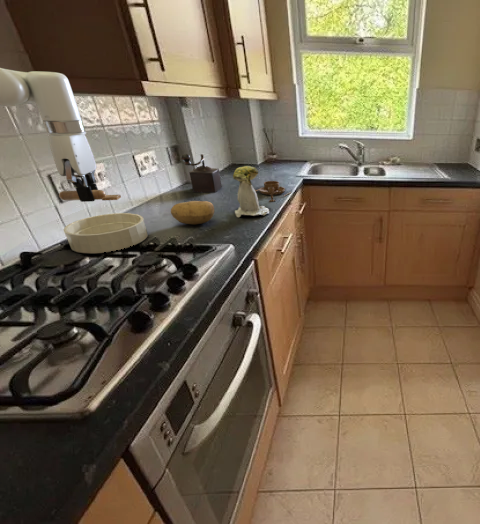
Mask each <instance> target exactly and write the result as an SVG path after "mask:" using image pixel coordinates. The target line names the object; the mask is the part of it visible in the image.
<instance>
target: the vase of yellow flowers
mask: <svg viewBox="0 0 480 524" xmlns="http://www.w3.org/2000/svg"><path fill="white" fill-rule="evenodd" d="M258 175H259V170H258V169H257V167H254V166H250V165H244V166H240V167H237V168H236V169H235V170H234V172H233V175H232V178H233V179H234V180H235V181H237V182H239V186H238V190H237V202H238V203H239V207H238V209H237V210H234V215H235V216H236V218H240V217H242V216H253V217H257V216H260V215H261V216H265V215H267V214H270V209H269V208H267V207H265V205H260V201H259V198H258V193H257V191H255V190H256V189H255V188H254V186H253V184H252V181H253V180H254V179H256V177H257V176H258Z"/></svg>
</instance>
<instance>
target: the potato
mask: <svg viewBox="0 0 480 524" xmlns="http://www.w3.org/2000/svg"><path fill="white" fill-rule="evenodd" d="M214 214H215V206H214V204H213V203H212V202H210V201H207V200H206V201H205V200H202V201H201V200H199V201H198V200H190V201H186V202H178V203H176V204H174V205H173V206H172V207H171V209H170V215H171V216H172V218H174V219H175V220H177V221H178V222H179V223H181V224H186V225H195V226H196V225H202V224H206V223H207V222H209V221H210V220H212V218H213V217H214V216H215V215H214Z"/></svg>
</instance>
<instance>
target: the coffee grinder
mask: <svg viewBox="0 0 480 524" xmlns="http://www.w3.org/2000/svg"><path fill="white" fill-rule="evenodd" d="M180 160H181V161H182V162H183V164H184V166H187V167H188V166H192V167H195V168H193V169H192V170H191V171H189V177H190V182H191V187H192V192H193V193H203V194H205V193H206V194H207V193H208V194H209V193H212V194H215V193H217V192H218V191H220V190H221V189H222V188H223V186H222V180H221V173H220V168H218V167H217V168H214V167H210V166H208V165H206V164H205V156H204V154H200V160H199V161H198V162H195V163H192V162H191V161H190V160H191V155H190V154H188V153H182V154H181V155H180ZM198 165H199V166H198Z"/></svg>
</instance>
